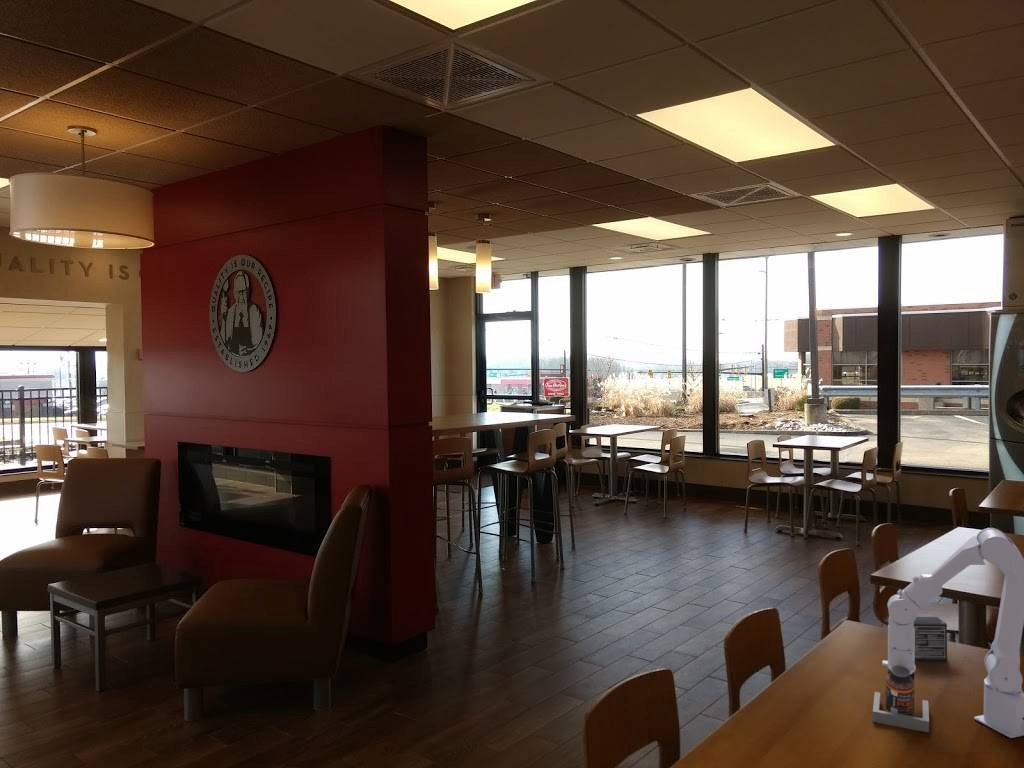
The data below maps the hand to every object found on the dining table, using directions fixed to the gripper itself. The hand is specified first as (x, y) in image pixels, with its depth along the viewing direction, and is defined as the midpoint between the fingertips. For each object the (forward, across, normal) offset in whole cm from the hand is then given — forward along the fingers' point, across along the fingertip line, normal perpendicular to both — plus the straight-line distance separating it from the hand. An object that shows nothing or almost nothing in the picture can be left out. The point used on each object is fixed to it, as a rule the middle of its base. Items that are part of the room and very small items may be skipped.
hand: (900, 702), depth 183 cm
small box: (+2, -36, +5) cm, 37 cm away
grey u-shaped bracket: (+1, +4, 0) cm, 4 cm away
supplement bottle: (+1, +3, 0) cm, 3 cm away
